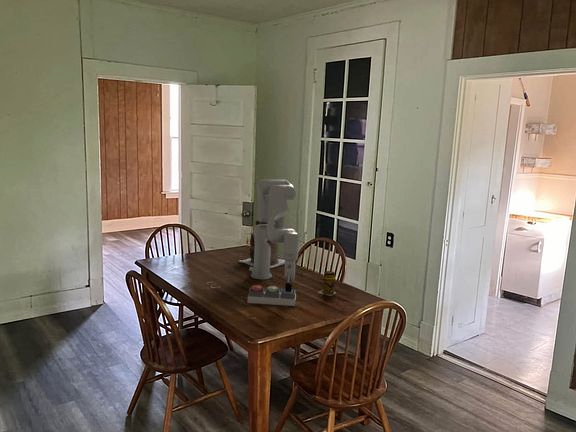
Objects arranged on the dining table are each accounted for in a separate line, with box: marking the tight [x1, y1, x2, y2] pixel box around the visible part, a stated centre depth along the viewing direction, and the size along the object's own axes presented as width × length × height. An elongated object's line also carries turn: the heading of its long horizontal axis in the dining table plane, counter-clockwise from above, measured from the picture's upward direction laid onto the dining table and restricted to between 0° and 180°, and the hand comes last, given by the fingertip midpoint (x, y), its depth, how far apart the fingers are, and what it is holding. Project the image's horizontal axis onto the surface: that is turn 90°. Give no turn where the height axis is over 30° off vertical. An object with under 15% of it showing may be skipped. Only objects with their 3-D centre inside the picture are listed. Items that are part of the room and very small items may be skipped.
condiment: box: [317, 270, 337, 297], centre depth 259 cm, size 7×8×12 cm
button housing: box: [246, 286, 297, 307], centre depth 243 cm, size 24×10×6 cm, turn 88°
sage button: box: [267, 285, 279, 293], centre depth 243 cm, size 5×5×2 cm
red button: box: [251, 284, 263, 292], centre depth 243 cm, size 5×5×2 cm
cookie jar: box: [238, 219, 285, 270], centre depth 309 cm, size 25×25×32 cm
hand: (288, 291), depth 242 cm, fingers closed
